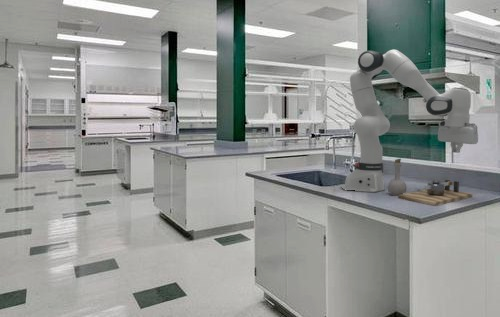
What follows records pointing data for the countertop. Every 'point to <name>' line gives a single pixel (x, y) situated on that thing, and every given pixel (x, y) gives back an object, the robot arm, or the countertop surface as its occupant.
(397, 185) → the potion bottle
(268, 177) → the countertop surface
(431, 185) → the capstan
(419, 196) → the stand
